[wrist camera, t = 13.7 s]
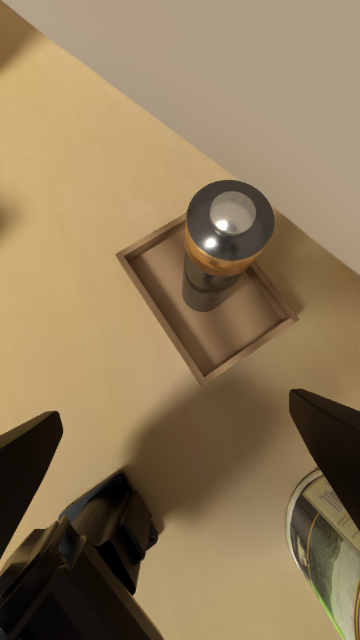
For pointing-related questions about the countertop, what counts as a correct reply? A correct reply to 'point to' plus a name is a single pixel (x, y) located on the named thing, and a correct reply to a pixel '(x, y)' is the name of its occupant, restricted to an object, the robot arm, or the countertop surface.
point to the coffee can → (327, 551)
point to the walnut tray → (204, 327)
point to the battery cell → (222, 240)
